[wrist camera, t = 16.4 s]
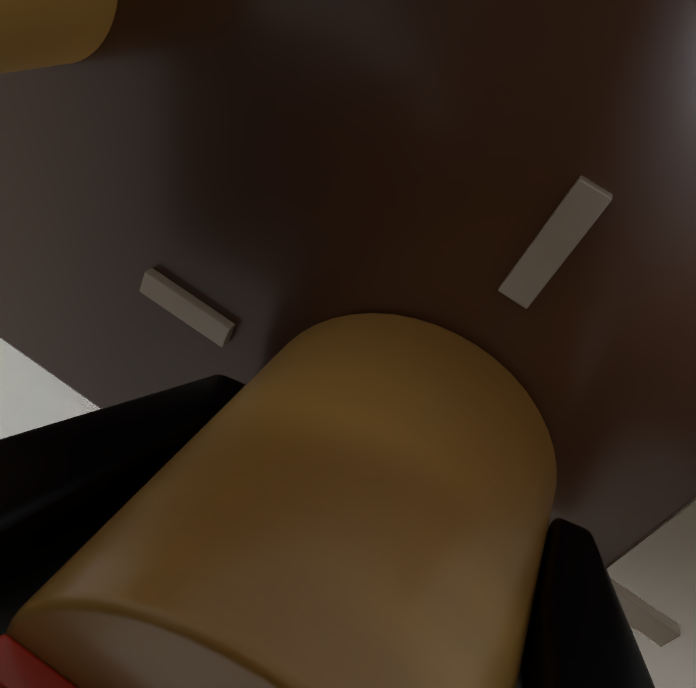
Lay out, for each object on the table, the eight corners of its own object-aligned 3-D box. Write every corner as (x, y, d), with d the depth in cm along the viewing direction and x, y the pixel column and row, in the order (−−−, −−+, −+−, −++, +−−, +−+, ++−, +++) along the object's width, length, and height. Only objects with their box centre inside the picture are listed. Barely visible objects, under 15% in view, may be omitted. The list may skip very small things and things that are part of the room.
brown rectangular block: (1052, 167, 7) (1273, 273, 5) (525, 599, 13) (493, 750, 10) (93, -388, 8) (-160, -551, 6) (11, 245, 14) (-130, 305, 12)
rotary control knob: (632, 442, 7) (602, 989, 3) (450, 609, 10) (308, 1040, 6) (332, 245, 7) (-15, 532, 4) (227, 453, 10) (-51, 762, 6)
